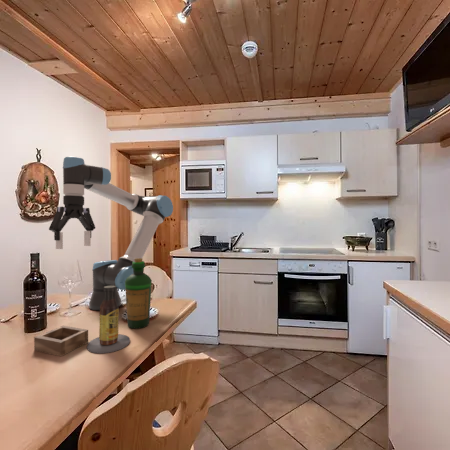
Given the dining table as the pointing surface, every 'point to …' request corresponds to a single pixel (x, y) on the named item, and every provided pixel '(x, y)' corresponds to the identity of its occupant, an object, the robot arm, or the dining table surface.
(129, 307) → the bottle
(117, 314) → the sauce bottle
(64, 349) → the open wooden box
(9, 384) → the dining table surface
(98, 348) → the slate trivet
